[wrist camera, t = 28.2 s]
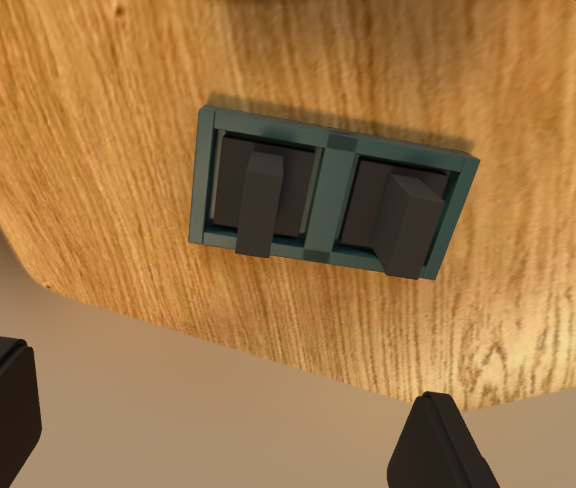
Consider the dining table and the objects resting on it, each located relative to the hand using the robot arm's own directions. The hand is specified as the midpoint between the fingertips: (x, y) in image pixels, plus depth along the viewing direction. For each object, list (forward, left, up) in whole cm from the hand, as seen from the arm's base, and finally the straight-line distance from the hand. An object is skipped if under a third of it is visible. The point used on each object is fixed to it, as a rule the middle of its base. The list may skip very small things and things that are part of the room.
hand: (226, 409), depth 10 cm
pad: (0, 0, -20) cm, 20 cm away
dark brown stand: (-9, 0, -20) cm, 22 cm away
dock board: (-5, 0, -20) cm, 21 cm away
